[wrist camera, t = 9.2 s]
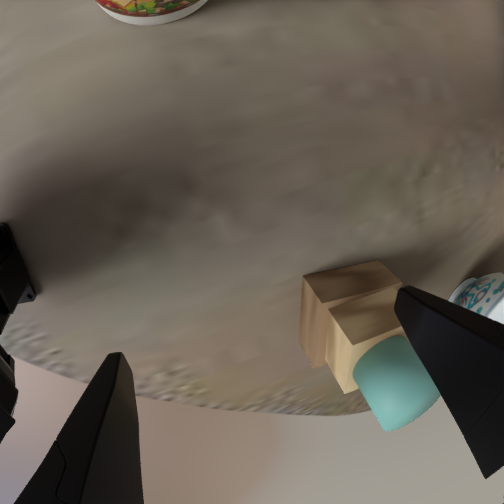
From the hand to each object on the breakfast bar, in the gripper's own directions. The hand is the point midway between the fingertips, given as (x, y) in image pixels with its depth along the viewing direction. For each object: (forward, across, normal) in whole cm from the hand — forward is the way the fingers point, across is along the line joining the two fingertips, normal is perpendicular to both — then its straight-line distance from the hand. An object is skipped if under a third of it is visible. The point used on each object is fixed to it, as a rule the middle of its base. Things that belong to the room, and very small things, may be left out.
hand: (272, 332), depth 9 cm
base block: (+13, -10, +12) cm, 20 cm away
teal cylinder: (+5, -10, +12) cm, 16 cm away
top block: (+9, -10, +12) cm, 18 cm away
